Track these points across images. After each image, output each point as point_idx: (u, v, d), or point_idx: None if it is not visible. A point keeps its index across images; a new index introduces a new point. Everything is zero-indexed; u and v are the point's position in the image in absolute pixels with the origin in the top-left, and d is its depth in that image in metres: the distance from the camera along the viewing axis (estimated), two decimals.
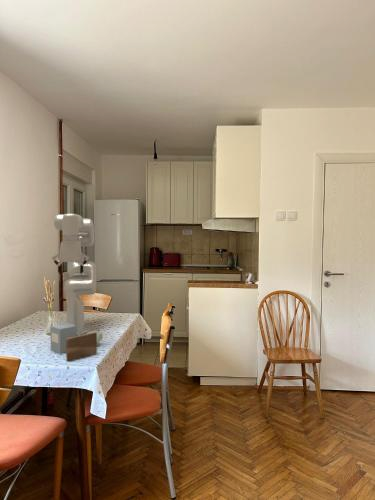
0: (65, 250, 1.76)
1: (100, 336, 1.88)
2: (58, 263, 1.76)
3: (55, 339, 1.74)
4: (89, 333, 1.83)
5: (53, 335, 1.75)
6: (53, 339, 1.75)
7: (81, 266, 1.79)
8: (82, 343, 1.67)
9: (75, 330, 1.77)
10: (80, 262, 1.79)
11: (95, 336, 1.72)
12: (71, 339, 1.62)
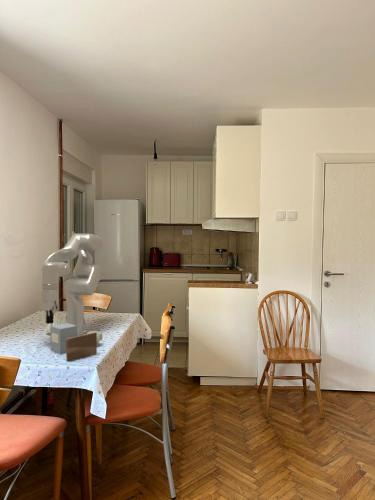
0: None
1: (100, 336, 1.88)
2: None
3: (55, 339, 1.74)
4: (89, 333, 1.83)
5: (53, 335, 1.75)
6: (53, 339, 1.75)
7: None
8: (82, 343, 1.67)
9: (75, 330, 1.77)
10: None
11: (95, 336, 1.72)
12: (71, 339, 1.62)
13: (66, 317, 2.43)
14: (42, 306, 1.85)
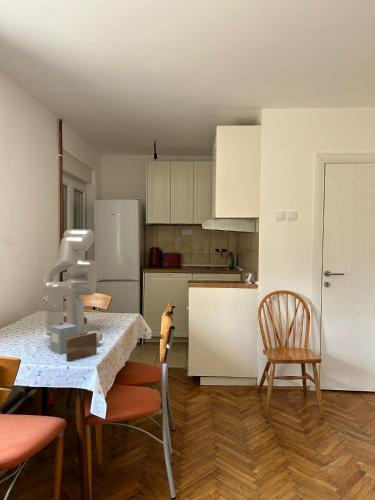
0: None
1: (100, 336, 1.88)
2: None
3: (55, 339, 1.74)
4: (89, 333, 1.83)
5: (53, 335, 1.75)
6: (53, 339, 1.75)
7: None
8: (82, 343, 1.67)
9: (75, 330, 1.77)
10: None
11: (95, 336, 1.72)
12: (71, 339, 1.62)
13: (64, 318, 2.41)
14: (48, 328, 1.82)
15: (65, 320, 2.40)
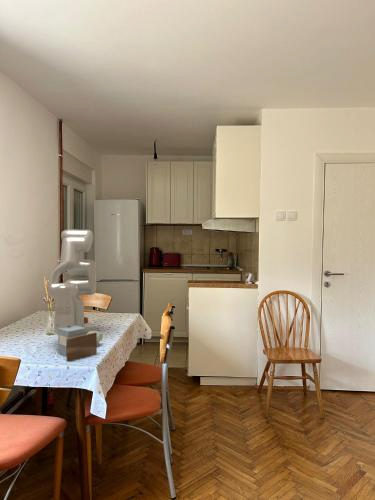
0: None
1: (100, 336, 1.88)
2: None
3: (63, 341, 1.69)
4: (89, 333, 1.83)
5: (61, 338, 1.70)
6: (61, 342, 1.70)
7: None
8: (82, 343, 1.67)
9: (83, 332, 1.72)
10: None
11: (95, 336, 1.72)
12: (71, 339, 1.62)
13: None
14: (56, 331, 1.77)
15: None
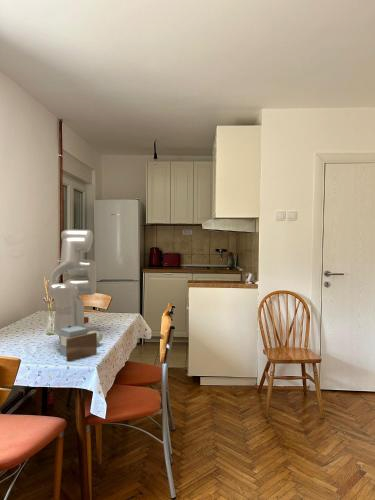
0: None
1: (100, 336, 1.88)
2: None
3: (64, 342, 1.68)
4: (89, 333, 1.83)
5: (62, 338, 1.69)
6: (62, 342, 1.69)
7: None
8: (82, 343, 1.67)
9: (85, 333, 1.72)
10: None
11: (95, 336, 1.72)
12: (71, 339, 1.62)
13: None
14: (56, 331, 1.77)
15: None
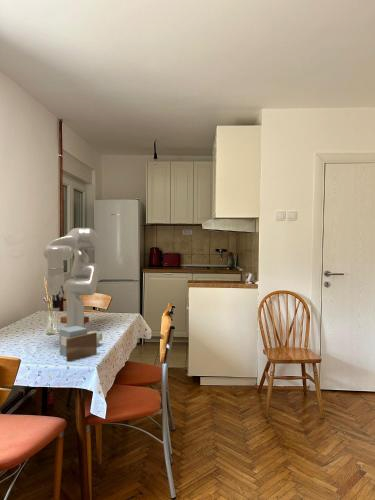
0: None
1: (100, 336, 1.88)
2: (60, 298, 1.83)
3: (64, 342, 1.68)
4: (89, 333, 1.83)
5: (62, 338, 1.69)
6: (62, 342, 1.69)
7: None
8: (82, 343, 1.67)
9: (85, 333, 1.72)
10: None
11: (95, 336, 1.72)
12: (71, 339, 1.62)
13: (62, 319, 2.37)
14: (49, 291, 1.82)
15: (64, 321, 2.37)
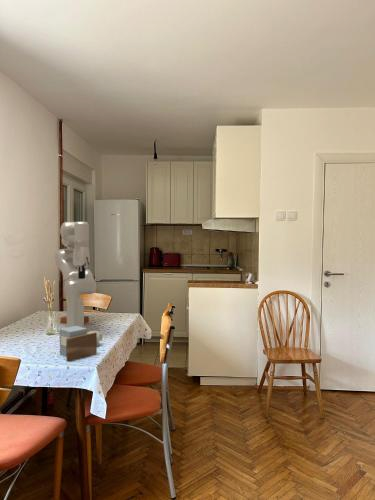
0: None
1: (100, 336, 1.88)
2: (85, 269, 1.97)
3: (64, 342, 1.68)
4: (89, 333, 1.83)
5: (62, 338, 1.69)
6: (62, 342, 1.69)
7: None
8: (82, 343, 1.67)
9: (85, 333, 1.72)
10: None
11: (95, 336, 1.72)
12: (71, 339, 1.62)
13: (62, 319, 2.36)
14: (75, 262, 1.96)
15: (64, 321, 2.36)
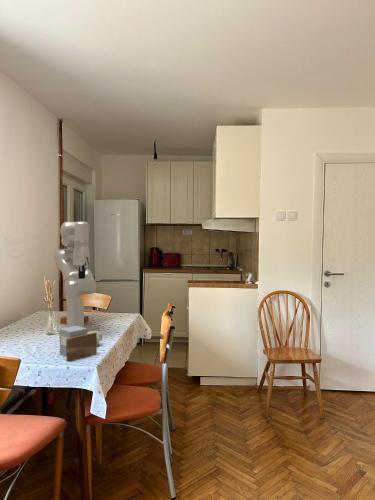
0: None
1: (100, 336, 1.88)
2: (85, 269, 1.97)
3: (64, 342, 1.68)
4: (89, 333, 1.83)
5: (62, 338, 1.69)
6: (62, 342, 1.69)
7: None
8: (82, 343, 1.67)
9: (85, 333, 1.72)
10: None
11: (95, 336, 1.72)
12: (71, 339, 1.62)
13: (62, 320, 2.35)
14: (75, 262, 1.96)
15: (65, 322, 2.35)
